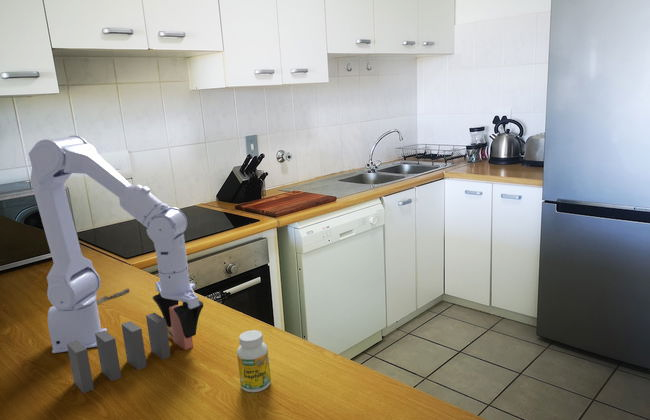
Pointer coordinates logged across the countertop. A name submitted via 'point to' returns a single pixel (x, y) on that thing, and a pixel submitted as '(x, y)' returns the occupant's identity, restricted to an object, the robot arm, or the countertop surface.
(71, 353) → the domino
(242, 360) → the supplement bottle
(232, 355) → the countertop surface
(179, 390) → the countertop surface
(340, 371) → the countertop surface
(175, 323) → the red domino
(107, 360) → the domino
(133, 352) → the domino
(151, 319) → the domino
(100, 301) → the grey brown bark strip
